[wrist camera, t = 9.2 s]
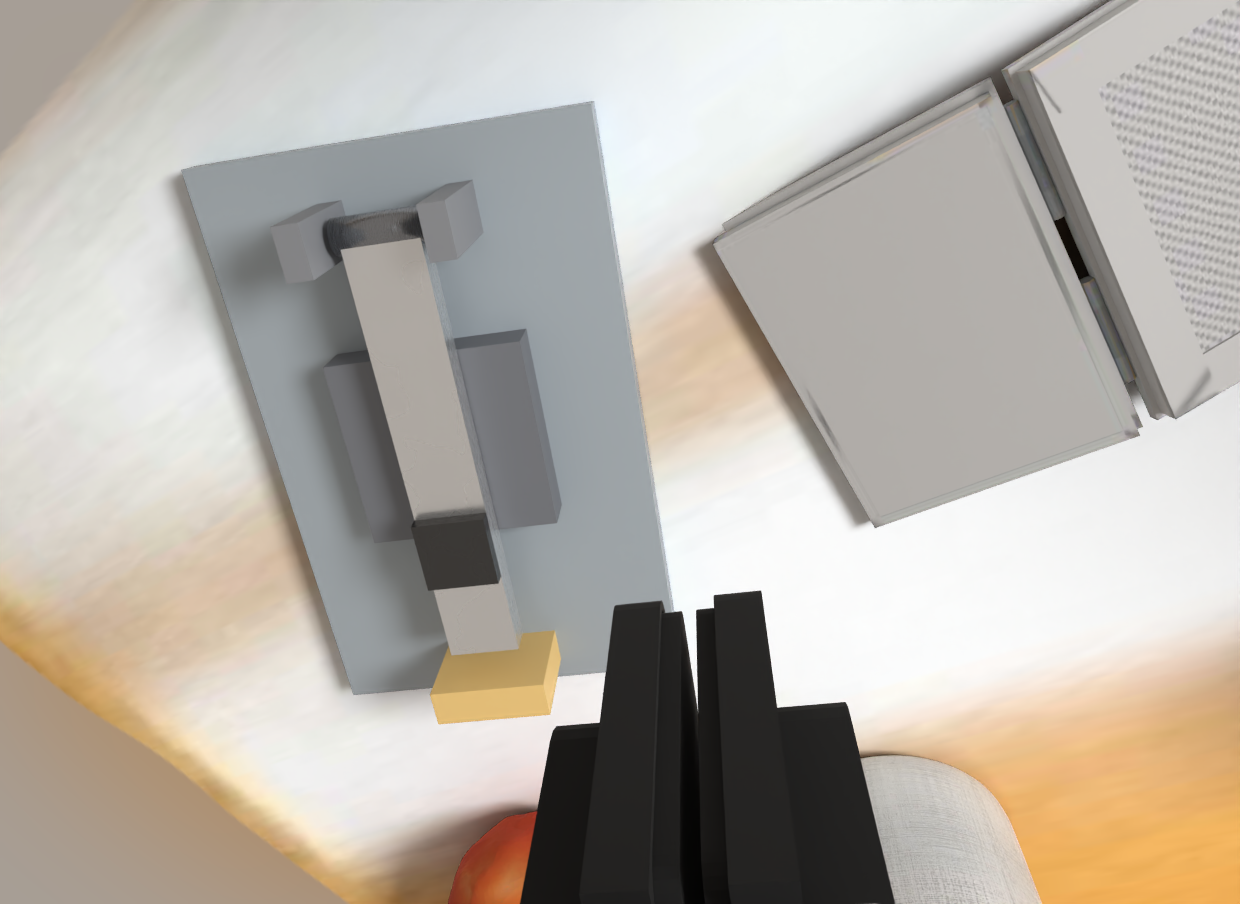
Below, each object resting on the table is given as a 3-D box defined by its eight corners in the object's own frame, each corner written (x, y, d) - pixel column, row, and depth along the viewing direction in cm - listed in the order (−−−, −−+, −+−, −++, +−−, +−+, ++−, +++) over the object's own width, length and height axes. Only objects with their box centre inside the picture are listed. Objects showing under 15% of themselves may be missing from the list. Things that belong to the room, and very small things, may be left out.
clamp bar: (336, 214, 35) (318, 224, 34) (430, 200, 35) (417, 209, 33) (451, 638, 43) (441, 664, 41) (529, 630, 42) (523, 656, 41)
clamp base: (195, 166, 38) (115, 188, 32) (593, 101, 36) (578, 114, 31) (361, 679, 48) (320, 761, 42) (680, 650, 46) (679, 731, 40)
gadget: (871, 518, 43) (887, 560, 40) (705, 230, 38) (707, 250, 35) (1412, 258, 37) (1485, 281, 34) (1296, -122, 32) (1367, -139, 29)
